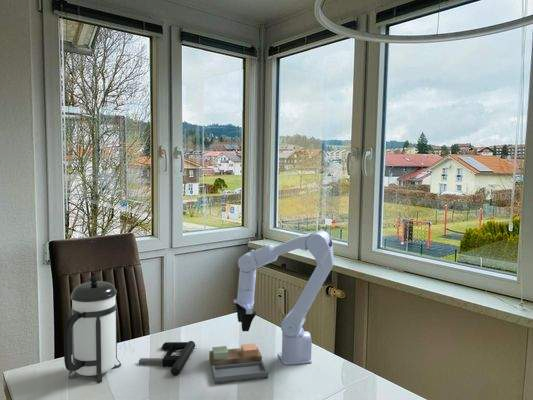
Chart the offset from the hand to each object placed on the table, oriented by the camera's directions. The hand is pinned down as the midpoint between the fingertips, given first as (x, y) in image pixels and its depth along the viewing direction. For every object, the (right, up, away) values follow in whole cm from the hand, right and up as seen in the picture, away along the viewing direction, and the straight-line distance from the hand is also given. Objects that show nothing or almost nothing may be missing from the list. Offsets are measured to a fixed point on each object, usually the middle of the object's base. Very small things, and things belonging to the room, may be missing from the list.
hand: (243, 326), depth 140 cm
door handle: (-24, -10, -7) cm, 27 cm away
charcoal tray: (0, -10, -15) cm, 18 cm away
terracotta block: (+2, -6, -7) cm, 10 cm away
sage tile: (-7, -6, -10) cm, 14 cm away
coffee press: (-44, -10, -17) cm, 48 cm away
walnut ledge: (-2, -9, -8) cm, 12 cm away
